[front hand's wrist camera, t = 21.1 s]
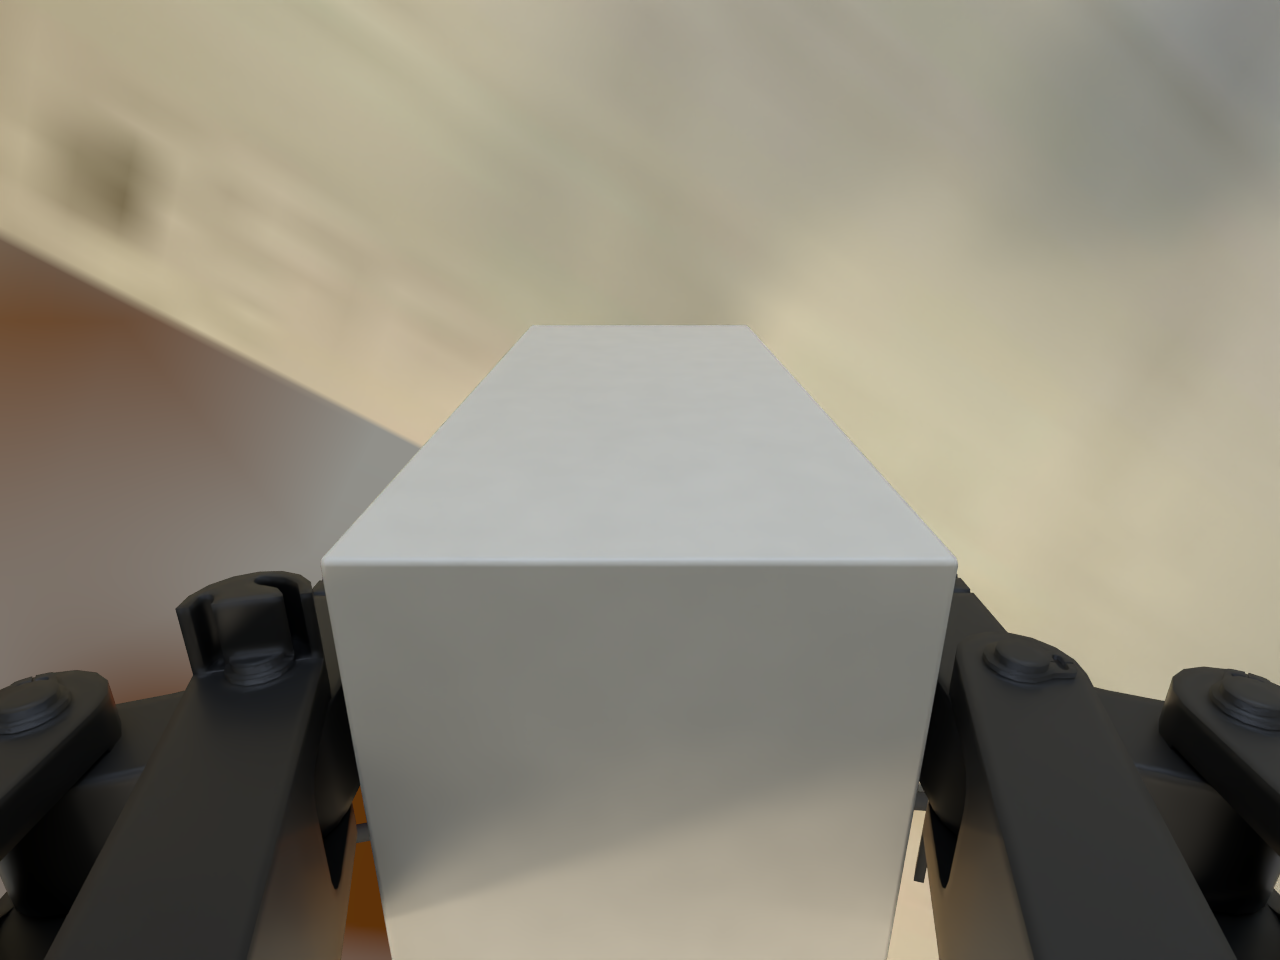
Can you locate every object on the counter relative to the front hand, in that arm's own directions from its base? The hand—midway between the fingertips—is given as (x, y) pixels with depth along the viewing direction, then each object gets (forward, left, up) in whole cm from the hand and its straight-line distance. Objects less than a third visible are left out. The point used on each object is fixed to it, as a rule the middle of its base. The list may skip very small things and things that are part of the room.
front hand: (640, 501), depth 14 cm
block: (0, 0, -4) cm, 4 cm away
